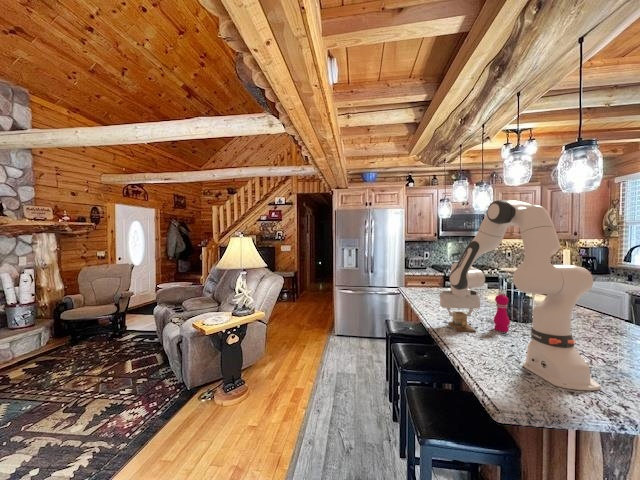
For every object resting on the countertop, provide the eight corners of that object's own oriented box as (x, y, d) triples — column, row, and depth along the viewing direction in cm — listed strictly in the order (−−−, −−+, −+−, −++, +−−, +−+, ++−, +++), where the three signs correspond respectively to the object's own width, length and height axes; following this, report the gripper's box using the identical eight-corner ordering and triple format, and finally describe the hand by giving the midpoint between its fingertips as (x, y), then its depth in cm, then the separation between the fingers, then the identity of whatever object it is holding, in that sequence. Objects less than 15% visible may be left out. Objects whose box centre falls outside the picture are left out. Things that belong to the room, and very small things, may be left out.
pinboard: (475, 332, 146) (475, 322, 146) (457, 331, 148) (457, 322, 148) (465, 323, 160) (465, 315, 160) (448, 323, 162) (448, 314, 162)
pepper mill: (505, 327, 154) (505, 290, 153) (512, 332, 146) (513, 293, 146) (490, 327, 154) (491, 290, 154) (497, 331, 147) (498, 293, 147)
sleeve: (466, 325, 154) (466, 314, 154) (455, 325, 155) (455, 314, 155) (463, 322, 160) (463, 311, 160) (452, 321, 161) (452, 311, 161)
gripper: (441, 291, 155) (441, 317, 155) (481, 292, 152) (481, 318, 152) (438, 289, 161) (438, 313, 161) (476, 290, 159) (476, 315, 159)
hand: (459, 316), depth 157 cm, fingers open, 8 cm apart
